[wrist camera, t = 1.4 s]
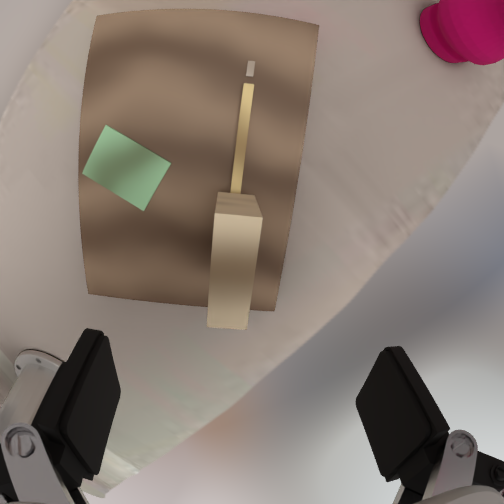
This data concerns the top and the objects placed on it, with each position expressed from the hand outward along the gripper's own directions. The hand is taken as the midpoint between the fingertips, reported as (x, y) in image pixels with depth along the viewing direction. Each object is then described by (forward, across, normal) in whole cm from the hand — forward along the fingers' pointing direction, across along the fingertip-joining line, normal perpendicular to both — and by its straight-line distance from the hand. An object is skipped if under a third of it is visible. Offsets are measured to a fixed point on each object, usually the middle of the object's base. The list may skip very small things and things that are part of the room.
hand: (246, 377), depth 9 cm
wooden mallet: (+15, 0, -3) cm, 15 cm away
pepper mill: (+17, -17, -22) cm, 32 cm away
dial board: (+16, +4, -4) cm, 17 cm away
